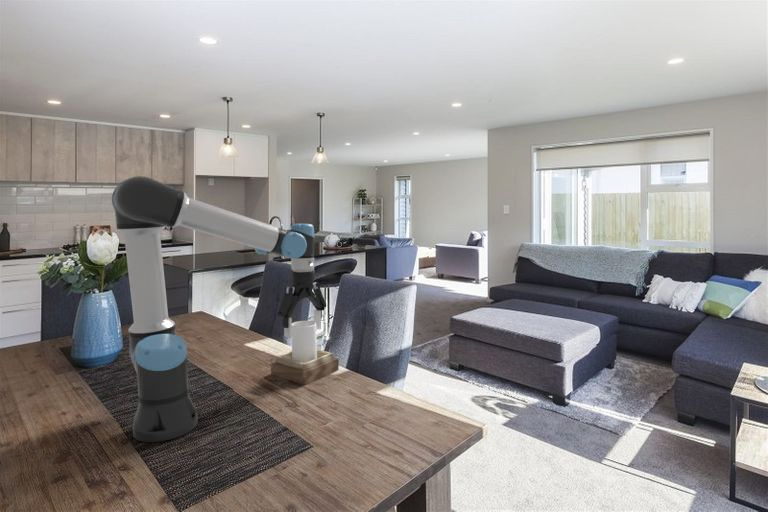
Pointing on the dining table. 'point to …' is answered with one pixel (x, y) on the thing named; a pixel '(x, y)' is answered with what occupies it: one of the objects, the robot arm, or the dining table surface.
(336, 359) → the box
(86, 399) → the dining table surface
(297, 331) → the cup
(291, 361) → the birch crate
